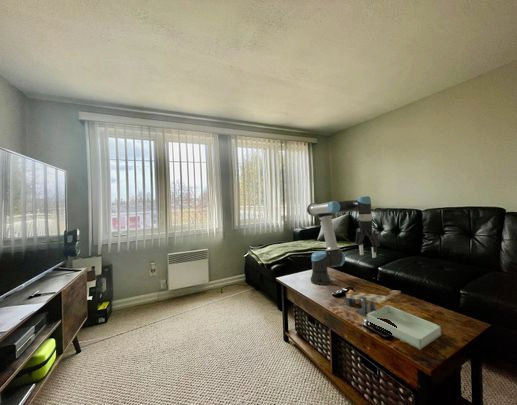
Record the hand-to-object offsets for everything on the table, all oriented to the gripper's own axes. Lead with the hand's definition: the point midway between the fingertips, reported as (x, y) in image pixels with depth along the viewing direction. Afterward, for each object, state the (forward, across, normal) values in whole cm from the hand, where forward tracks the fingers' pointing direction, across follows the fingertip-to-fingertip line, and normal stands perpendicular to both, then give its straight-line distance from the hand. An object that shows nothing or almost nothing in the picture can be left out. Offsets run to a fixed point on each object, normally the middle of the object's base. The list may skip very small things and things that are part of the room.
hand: (367, 256), depth 132 cm
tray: (+27, +27, -16) cm, 42 cm away
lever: (+21, +9, -10) cm, 24 cm away
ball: (+20, -1, -16) cm, 26 cm away
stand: (+27, +6, -16) cm, 32 cm away
